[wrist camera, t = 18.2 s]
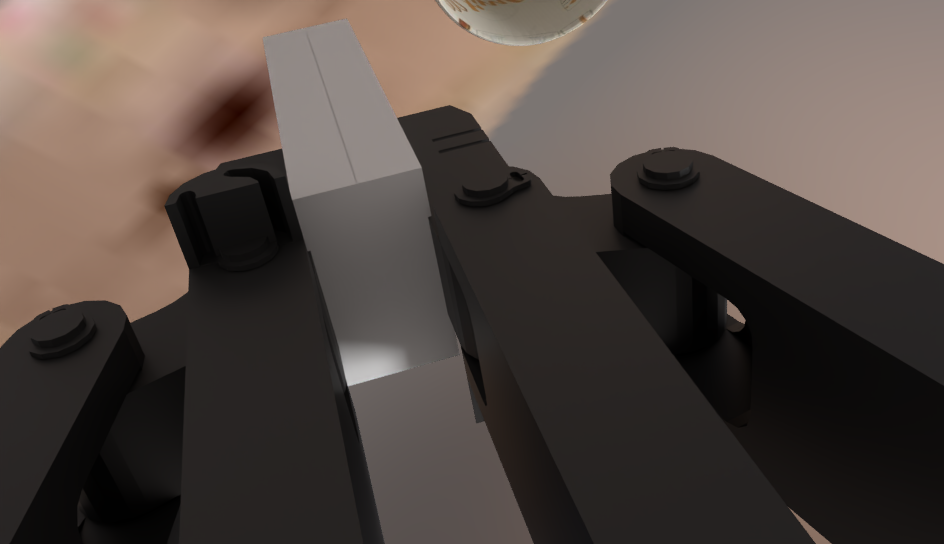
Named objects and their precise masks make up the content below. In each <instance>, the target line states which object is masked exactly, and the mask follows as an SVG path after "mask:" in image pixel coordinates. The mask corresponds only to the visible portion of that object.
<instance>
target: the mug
mask: <svg viewBox="0 0 944 544" xmlns="http://www.w3.org/2000/svg"><path fill="white" fill-rule="evenodd" d="M435 1H436V2H437V4H438V5H439V7H440V8H441V9H442V10H443V11H444V12H445V13H446V14H447V16H448V17H449V18H450V19H452V20H453V21H454V22H455V23H456V24H457V25H459V26H460V27H461V28H463V29H464V30H466V31H467V32H469V33H471V34H473V35H475V36H477V37H479V38H481V39H484V40H487V41H490V42H493V43H497V44H503V45H510V46H527V45H535V44H541V43H545V42H548V41H551V40H554V39H557V38H559V37H562V36H564V35H566V34H568V33H569V32H571V31H573V30H575V29H576V28H578V27H579V26H581V25H582V24H584V23H585V22H586V21H587V20H589V19H590V18H591V17H592V16H593V15H594V14H595V13H596V12H597V11H598V10H599V9H600V8H601V7H602V6H603V5H604V4H605V2H606V1H607V0H435Z"/></svg>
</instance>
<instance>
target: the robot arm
mask: <svg viewBox="0 0 944 544" xmlns="http://www.w3.org/2000/svg"><path fill="white" fill-rule="evenodd" d="M263 43H264V48H265V54H266V60H267V65H268V71H269V77H270V82H271V88H272V94H273V99H274V105H275V110H276V116H277V122H278V127H279V133H280V139H281V144H282V149H279V150H275V151H270V152H266V153H262V154H258V155H254V156H250V157H246V158H242V159H238V160H233V161H229V162H225V163H221V164H220V165H219V166H218V168H217V169H216V170H213V171H210V172H207V173H204V174H201V175H199V176H197V177H196V178H194V179H192V180H190V181H188V182H186V183H184V184H182V185H181V186H180V187H179V188H178V189H176V190H175V191H174V192H173V193H172V194H171V195H170V196H169V198H168V200H167V202H166V204H165V209H166V211H167V214H168V216H169V219H170V221H171V224H172V227H173V229H174V232H175V234H176V237H177V239H178V242H179V245H180V247H181V250H182V252H183V255H184V257H185V260H186V262H187V265H188V268H189V291H188V292H187V293H186V294H185V295H183V296H182V297H180V298H179V299H178V300H176V301H175V302H173V303H171V304H170V305H168V306H166V307H164V308H162V309H160V310H158V311H156V312H154V313H152V314H149V315H147V316H145V317H143V318H140V319H138V320H136V321H134V322H132V323H130V322H129V319H128V317H127V315H126V314H125V312H124V311H123V309H122V307H121V306H120V305H117V304H114V303H111V302H108V301H83V302H79V303H75V304H71V305H69V304H66V305H62V306H59V307H56V308H53V311H49V310H48V311H46V312H44V313H42V314H40V315H38V316H36V317H35V318H34V320H32V321H31V322H29V323H28V324H26V325H24V326H23V327H21V328H20V329H18V330H17V331H16V332H15V333H14V334H13V335H12V336H11V337H10V338H9V339H8V340H7V341H6V342H5V343H4V344H3V345H2V347H1V348H0V544H385V543H384V538H383V534H382V530H381V525H380V520H379V516H378V511H377V507H376V503H375V498H374V493H373V489H372V485H371V480H370V475H369V471H368V466H367V462H366V457H365V453H364V448H363V444H362V439H361V435H360V430H359V426H358V421H357V417H356V412H355V408H354V406H353V402H352V398H351V395H350V392H349V388H348V386H351V385H355V384H358V383H361V382H365V381H369V380H372V379H376V378H379V377H383V376H386V375H390V374H394V373H397V372H401V371H404V370H408V369H411V368H415V367H418V366H422V365H425V364H429V363H433V362H436V361H440V360H443V359H446V358H450V357H454V356H457V355H459V349H458V345H457V339H456V335H457V337H458V339H459V342H460V344H461V349H462V354H463V359H464V364H465V369H466V374H467V379H468V383H469V389H470V394H471V399H472V404H473V409H474V414H475V419H476V423H479V422H482V421H485V423H486V426H487V428H488V431H489V433H490V436H491V438H492V441H493V443H494V445H495V448H496V451H497V453H498V455H499V458H500V461H501V463H502V466H503V468H504V471H505V473H506V476H507V478H508V480H509V483H510V486H511V488H512V490H513V493H514V496H515V498H516V501H517V503H518V506H519V508H520V511H521V513H522V515H523V518H524V520H525V523H526V525H527V528H528V530H529V533H530V535H531V538H532V540H533V543H534V544H816V543H815V542H814V541H813V539H812V538H811V537H810V536H809V534H808V533H807V531H806V530H805V529H804V528H803V526H802V525H801V524H800V522H799V521H798V520H797V518H796V517H795V516H794V514H793V513H792V512H791V510H793V511H794V512H795V513H796V514H798V516H800V517H801V518H802V519H803V520H804V521H806V522H807V523H808V524H809V525H810V526H812V527H813V528H814V529H815V530H816V531H817V532H819V533H820V534H821V535H822V536H824V537H825V538H826V539H827V540H828V541H829V542H830V543H832V544H944V264H942V263H940V262H938V261H936V260H934V259H931V258H929V257H927V256H925V255H923V254H921V253H918V252H917V251H915V250H912V249H910V248H908V247H906V246H904V245H902V244H899V243H898V242H895V241H893V240H891V239H889V238H887V237H885V236H883V235H880V234H878V233H876V232H874V231H872V230H870V229H868V228H866V227H863V226H861V225H859V224H857V223H855V222H853V221H851V220H849V219H847V218H844V217H842V216H840V215H838V214H836V213H833V212H832V211H830V210H827V209H825V208H823V207H821V206H819V205H817V204H815V203H813V202H810V201H808V200H806V199H804V198H802V197H800V196H798V195H795V194H793V193H791V192H789V191H787V190H785V189H783V188H781V187H779V186H776V185H774V184H772V183H770V182H768V181H765V180H764V179H761V178H759V177H757V176H755V175H753V174H751V173H749V172H747V171H744V170H742V169H740V168H738V167H736V166H734V165H732V164H729V163H727V162H725V161H723V160H721V159H719V158H717V157H715V156H712V155H709V154H706V153H702V152H699V151H696V150H685V149H679V148H675V147H670V148H664V150H661V148H658V149H652V150H649V151H647V152H646V153H642V154H639V155H635V156H632V157H630V158H628V159H627V160H625V161H623V162H621V163H619V164H618V165H617V166H616V168H615V169H614V170H613V171H612V173H611V174H610V179H611V191H612V192H611V193H612V194H605V195H593V196H581V197H560V196H553V195H552V194H551V193H550V191H549V190H548V189H547V187H546V186H545V185H544V183H543V182H542V181H541V179H540V178H539V177H537V176H536V175H534V174H533V173H532V172H530V171H528V170H524V169H520V168H517V167H509V166H508V165H507V164H506V162H505V161H504V160H503V158H502V157H501V155H500V154H499V152H498V151H497V150H496V148H495V147H494V145H493V144H492V142H491V141H489V138H488V137H487V135H486V134H485V133H484V131H483V130H481V127H480V126H479V124H478V123H477V121H476V120H475V118H474V117H473V116H472V114H470V113H468V112H465V111H463V110H460V109H458V108H455V107H453V106H450V105H449V106H445V107H440V108H436V109H432V110H428V111H424V112H420V113H416V114H412V115H408V116H403V117H399V118H397V117H396V115H395V113H394V111H393V109H392V107H391V105H390V103H389V101H388V99H387V97H386V95H385V93H384V91H383V89H382V87H381V85H380V83H379V81H378V79H377V77H376V75H375V73H374V71H373V69H372V67H371V65H370V63H369V61H368V59H367V57H366V55H365V53H364V51H363V49H362V47H361V45H360V43H359V41H358V39H357V37H356V35H355V33H354V31H353V29H352V27H351V25H350V23H349V22H348V20H347V19H342V20H338V21H334V22H329V23H325V24H320V25H316V26H311V27H307V28H303V29H298V30H294V31H289V32H285V33H280V34H276V35H272V36H267V37H263ZM727 300H729V301H730V302H731V303H732V304H733V305H735V306H736V307H737V308H738V310H739V311H740V313H741V314H742V315H743V317H744V318H745V320H746V321H745V324H743V323H741V322H739V321H737V320H736V319H734V318H733V317H731V316H730V315H728V314H727ZM455 332H456V335H455ZM788 507H789V508H790V509H791V510H790V509H789V508H788Z"/></svg>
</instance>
